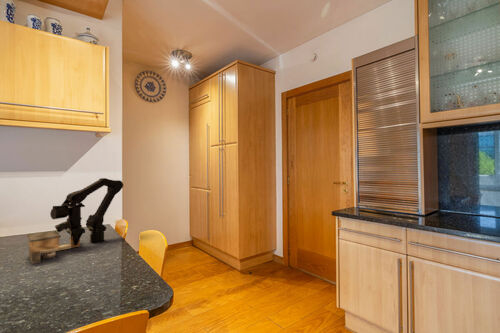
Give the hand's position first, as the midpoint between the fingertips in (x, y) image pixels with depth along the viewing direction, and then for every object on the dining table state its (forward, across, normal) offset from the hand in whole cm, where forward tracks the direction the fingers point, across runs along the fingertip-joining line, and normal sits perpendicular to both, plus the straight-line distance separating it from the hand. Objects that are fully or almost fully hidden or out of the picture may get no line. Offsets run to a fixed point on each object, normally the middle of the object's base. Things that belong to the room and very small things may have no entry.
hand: (74, 244), depth 138 cm
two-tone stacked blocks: (+1, 0, -6) cm, 6 cm away
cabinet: (+1, +8, -14) cm, 16 cm away
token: (+2, +9, -12) cm, 15 cm away
